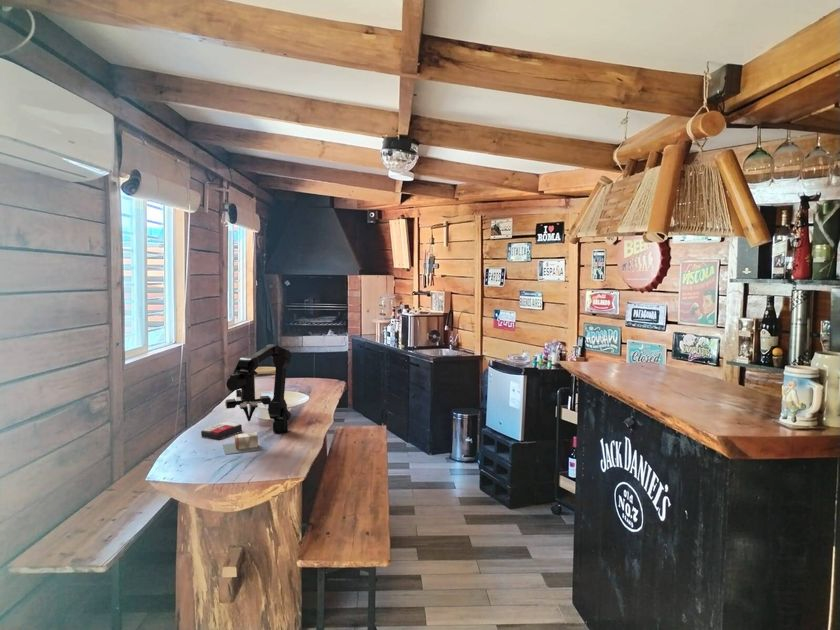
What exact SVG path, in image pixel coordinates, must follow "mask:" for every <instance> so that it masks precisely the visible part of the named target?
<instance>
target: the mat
mask: <svg viewBox="0 0 840 630" xmlns="http://www.w3.org/2000/svg"><path fill="white" fill-rule="evenodd" d="M222 446H223V450H224V454H225V455H234V454H235V455H236V454H242V452H243V453H249V452H250V451H251V452H259V449H258V447H252V448H244V449H236V447H235V442H234V443H233V442H232V443H225V444H222ZM251 452H250V453H251Z"/></svg>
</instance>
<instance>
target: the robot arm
mask: <svg viewBox="0 0 840 630" xmlns="http://www.w3.org/2000/svg"><path fill="white" fill-rule="evenodd" d="M270 357H271V358H272V363H273V365H274V367H275V372H274V373H275V374H274V382H273V383H274V385H273V397H272V398H271V397H270V396H269V395H260V396H259V398H256V391H255V390H256V385H255V384H256V383H255V382H256V381H255V380H256V379H255V376H257V375H258V372H257V371H256V370H257V369H258V368H259V365H260V364H261V363H262V362H265V360H267V359H269V358H270ZM291 359H292V353H291V350H289V349H286V348H284V347H281V346H279V345H278V344H272V343H269V344H267V345H266V346H265V347H263V348H262V349H260V350H258V351H257V352H255V353H253V354H251V355H245V356H243V357H240V358H239V359H238V361H237V364H236V366H235V368H234V370H233V374H230V376H229V378H228V379H227V381H226V387H227V389H228V390H229V391H230V392H234V391H235V394H236V395H235V397H236V398H240V400H236V399H235V398H231V399H230V398H229V399H226V400H225V408H226V409H235V408H236V407H237V406H239V408H240V409H241V410H243V411H244V413H245V417H246V419H247V422H251V420H252V418H253V417H252V416H253V415H254V412H255V409H256V408H259V406H258V404H261V403H262V404H263V405H264V406H266V405H268V407H267V414H268V415H269V419H270V420H272V421H271V425H272V426H271V431H272V432H273V433H274V434H281V433H282V434H283V432H284V433H289V430H288V429H289V428H288V427H289V426H288V425H289V424H288V421H289V420H290V419H291V418H292V417H291V416H292V413H291V412H290V411H289V410H288V404H287V402H286V399H285V391H286V388H285V387H286V378H287V368H288V367H289V365H290V364H291ZM247 405H248V406H249V408H248V406H247Z"/></svg>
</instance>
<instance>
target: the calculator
mask: <svg viewBox="0 0 840 630" xmlns="http://www.w3.org/2000/svg"><path fill="white" fill-rule="evenodd" d="M242 426H243V425H242V424H240V423H236V422H230V421H223V422H221V423H217V424H214V425H211V426H209V427H207V428H205V429H204V428H203V429H202V430H201V432H200V435H201V436H203V437H202V438H206V437H208V438H207V439H213V440H221V439H224V438H227V437H230V436H232V435H234V434H235V433H236V434H238V433H237V432H239V433H241V432H240V431H242V432H243V427H242ZM236 434H235V435H236Z"/></svg>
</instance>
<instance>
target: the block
mask: <svg viewBox="0 0 840 630" xmlns="http://www.w3.org/2000/svg"><path fill="white" fill-rule="evenodd" d="M258 440H259V437H258V433H257V432H249V433H240V434H239V433H237V434H235V435H234V443H235V447H236V449H244V448H252V447H257V448H258V447H259V441H258Z"/></svg>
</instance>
